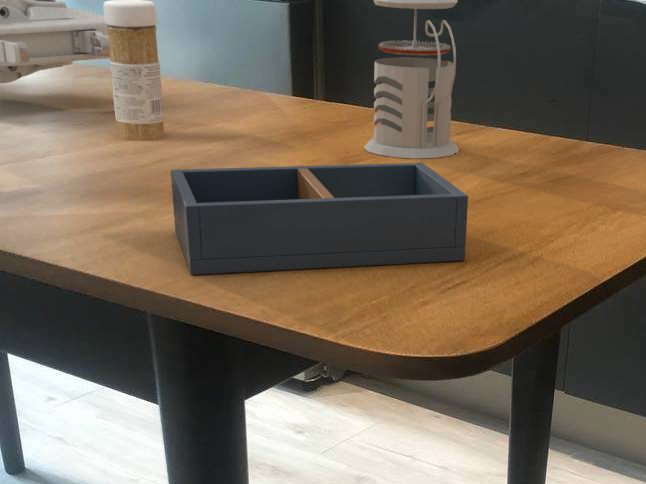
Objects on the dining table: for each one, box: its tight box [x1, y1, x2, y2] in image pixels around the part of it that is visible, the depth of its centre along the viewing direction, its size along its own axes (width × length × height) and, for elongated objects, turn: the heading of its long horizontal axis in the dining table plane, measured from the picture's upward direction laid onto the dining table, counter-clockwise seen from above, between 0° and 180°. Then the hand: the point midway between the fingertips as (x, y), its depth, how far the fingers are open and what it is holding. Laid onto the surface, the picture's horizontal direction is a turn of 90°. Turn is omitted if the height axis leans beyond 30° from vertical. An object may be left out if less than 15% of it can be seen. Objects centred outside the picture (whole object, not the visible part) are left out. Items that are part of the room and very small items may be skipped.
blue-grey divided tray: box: [170, 162, 469, 276], centre depth 77 cm, size 19×11×4 cm, turn 106°
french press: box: [363, 0, 460, 159], centre depth 104 cm, size 10×12×25 cm
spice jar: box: [102, 0, 165, 142], centre depth 100 cm, size 5×5×13 cm
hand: (65, 50), depth 105 cm, fingers open, 8 cm apart
